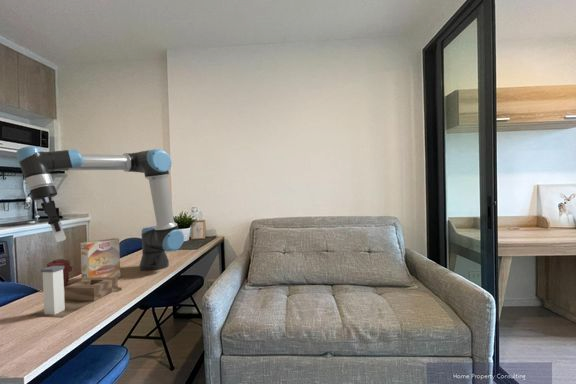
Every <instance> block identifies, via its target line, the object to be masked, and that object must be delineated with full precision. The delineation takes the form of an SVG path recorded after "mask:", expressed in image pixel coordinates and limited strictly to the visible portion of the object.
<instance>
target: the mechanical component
mask: <svg viewBox="0 0 576 384" xmlns="http://www.w3.org/2000/svg"><path fill="white" fill-rule="evenodd" d="M70 264H71V263H70V259H64V258H58V259H54V260H52V261H50V262H48V263H46V268H47V267H50V266H64V269H63V281H64V287H66V286H69V282H70V278H69V273H70V272H72V271H73V267H72V265H70Z"/></svg>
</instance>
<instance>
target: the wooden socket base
mask: <svg viewBox="0 0 576 384" xmlns="http://www.w3.org/2000/svg"><path fill="white" fill-rule="evenodd" d="M118 280H119V277H89V278H87V279H84V280H82V279H81V280H79V281H77V282H74V283H71V284H70V285H69V284H68V285H67V286H64V303H65V310H63V311H61V312H59V313H57V314H55V315H52V314H44V308H42V309H40V310H38V311H35V312H33V313H31V314H28V315H26V317H28V318H29V317H30V318H31V317H32V318H54V319H55V318H57V319H58V318H59V319H61V318H62V319H63V318H64V317H67V316H68V315H70V314H73V313H74V312H76V311H78V310H80V309H82V308H84V307H86V306H88V305H90V304H93V303H94V302H96V301H98V300H100V299H102V298H104V297H106V296H108V295H109V294H111V293H118V292H120V291H122V289H123V288H122V287H119V281H118Z"/></svg>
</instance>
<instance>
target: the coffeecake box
mask: <svg viewBox="0 0 576 384" xmlns="http://www.w3.org/2000/svg"><path fill="white" fill-rule="evenodd" d="M120 250H121V249H120V239H119V238H118V237H108V238H104V239H97V240H90V241H85V242H80V263H81V264H80V267H81V269H80V270H81V281H82V280H84V279H87V278H89V277H118V278H119V277H120V278H121V259H120V258H121V257H120V256H121V255H120Z"/></svg>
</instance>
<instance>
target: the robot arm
mask: <svg viewBox="0 0 576 384" xmlns="http://www.w3.org/2000/svg"><path fill="white" fill-rule="evenodd" d="M16 157H17V161H18V164H19V166H20V169H21V172H22V173H23V176H24V179H25V181H24V185H27V187H28V189H29V190H30V191H29V194H30V196H31V199H32V200H33V201H40V200H41V201H42V202H41V203H40V205H41V208H42V209H43V211H44V214H45V215H47V218H48V220H49V221H47V222H48V225H50V227H51V230H52V233H53V236H54V239H55V242H56V243H59V242H63V241H65V240H66V239H67V237H66V234H65V231H64V229H63V226H62V223H61V221H60V220H61V219H60V217H59V216H58V213H57V207H56V203H55V200H54V199H53V200H52V198H53V197H55V196H57V195H58V191H57V189H56V186H54V185H55V183H54V180H53V178H52V174H51V172H55V171H57V172H59V171H60V172H61V171H62V172H63V171H64V172H65V171H123V172H126V173H140V174H141V173H142V174H144V178H146V179H147V180H148V184H149V188H150V194H151V199H152V200H151V201H152V206H153V211H154V215H155V223H156V225H154V226H147V227H143V228H142V229H141V245H142V246H141V247H142V248H141V249H142V255H141V257H140V262H139V265H138V267H139V271H148V272H149V271H156V270H162V269H165V268H168V267H169V265H170V261H169V259H168V258H169V257H168V256H167V253H166V252H168V253H169V252H172V253H173V252H176V251H177V250H179V249H180V248H181V247H182V245H183V244H184V241H185V235H184V233H183V231H181V230H180V229H179V225H178V223H176V222H175V220H174V213H173V208H172V207H173V206H172V202H171V196H170V191H169V190H170V189H169V184H168V179H167V178H168V176H169V175H170V171H169V170H170V169H171V167H172V158H171V156H170V154H169V153H167V152H166V151H165V150H164V149H157V148H156V149H155V148H153V149H149V150H142V151H141V150H140V151H138V152H132V153H127V152H125V153H123V154H97V153H96V154H94V153H93V154H92V153H87V154H86V153H81V151H79V150H77V149H63V150H55V151H54V150H53V151H43V150H42V148H41V147H40V146H34V145H33V146H32V145H31V146H25V147H20V148H18V149H17V150H16Z"/></svg>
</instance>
